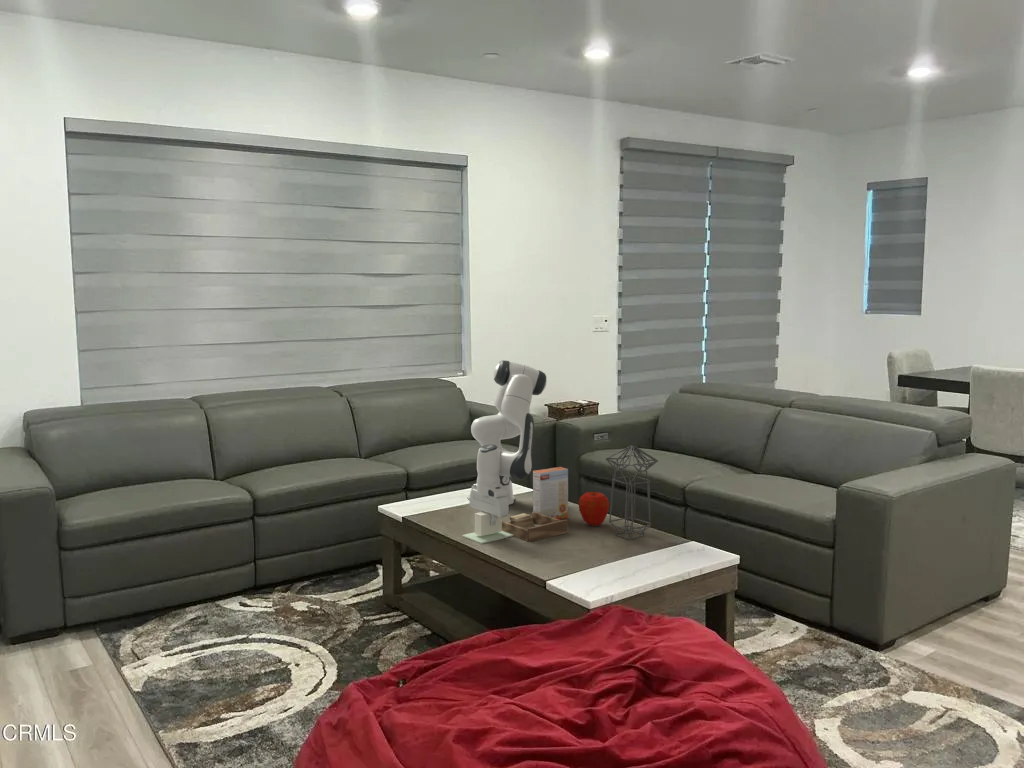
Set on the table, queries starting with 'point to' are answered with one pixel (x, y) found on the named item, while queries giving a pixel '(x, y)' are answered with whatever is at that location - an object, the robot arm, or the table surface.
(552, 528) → the wooden frame
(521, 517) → the offcut stack
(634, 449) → the geometric lantern
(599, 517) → the apple
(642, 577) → the table surface
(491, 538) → the mat
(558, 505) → the cracker box
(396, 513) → the table surface
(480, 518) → the white rectangular block
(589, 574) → the table surface
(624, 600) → the table surface
